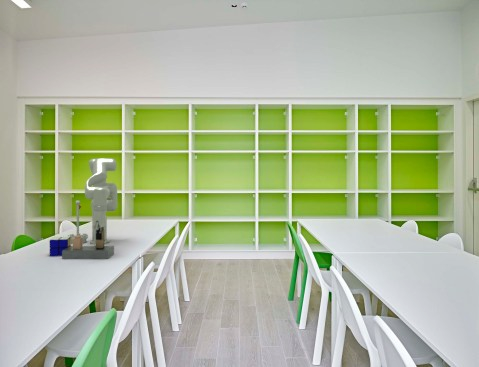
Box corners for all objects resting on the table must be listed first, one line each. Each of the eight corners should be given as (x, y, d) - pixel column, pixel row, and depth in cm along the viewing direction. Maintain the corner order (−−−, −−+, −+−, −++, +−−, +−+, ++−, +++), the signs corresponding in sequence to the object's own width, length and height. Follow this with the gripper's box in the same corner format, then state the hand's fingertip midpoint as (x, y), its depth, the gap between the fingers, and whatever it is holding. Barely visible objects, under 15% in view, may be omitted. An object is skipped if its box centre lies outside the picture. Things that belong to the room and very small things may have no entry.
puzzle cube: (49, 256, 209) (49, 239, 209) (53, 252, 219) (53, 236, 218) (67, 255, 212) (67, 239, 211) (71, 252, 221) (71, 236, 221)
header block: (70, 254, 216) (70, 245, 215) (114, 254, 217) (114, 246, 217) (62, 258, 204) (62, 250, 203) (108, 258, 205) (108, 250, 205)
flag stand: (82, 244, 243) (82, 201, 242) (64, 244, 243) (64, 201, 242) (91, 240, 256) (91, 199, 255) (73, 240, 256) (73, 199, 255)
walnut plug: (97, 246, 213) (97, 228, 212) (104, 246, 213) (104, 228, 212) (95, 247, 209) (95, 229, 208) (102, 247, 209) (102, 229, 208)
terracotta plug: (75, 253, 212) (75, 235, 211) (82, 253, 212) (82, 235, 212) (72, 255, 208) (72, 236, 207) (79, 255, 208) (79, 236, 208)
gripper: (98, 206, 218) (98, 236, 219) (88, 210, 201) (88, 241, 202) (110, 207, 218) (110, 236, 219) (102, 210, 202) (102, 241, 202)
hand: (100, 238), depth 210 cm, fingers closed on walnut plug, 4 cm apart
